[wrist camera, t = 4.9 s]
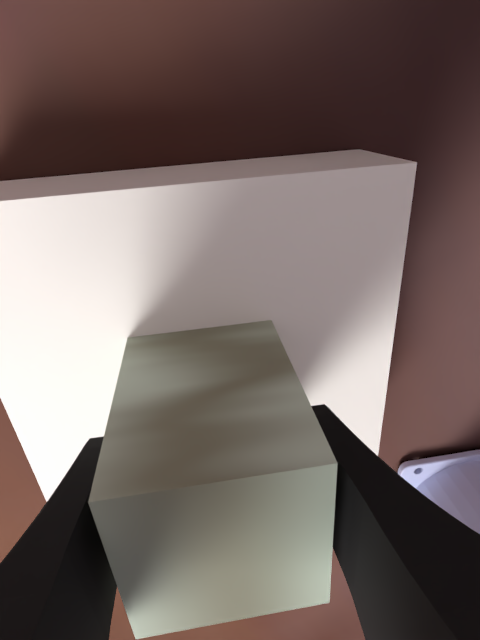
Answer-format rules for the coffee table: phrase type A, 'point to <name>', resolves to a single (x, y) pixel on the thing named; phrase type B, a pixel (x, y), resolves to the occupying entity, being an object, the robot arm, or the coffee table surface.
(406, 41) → the coffee table surface
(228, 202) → the plinth
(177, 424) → the sage block
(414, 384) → the coffee table surface
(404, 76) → the coffee table surface
